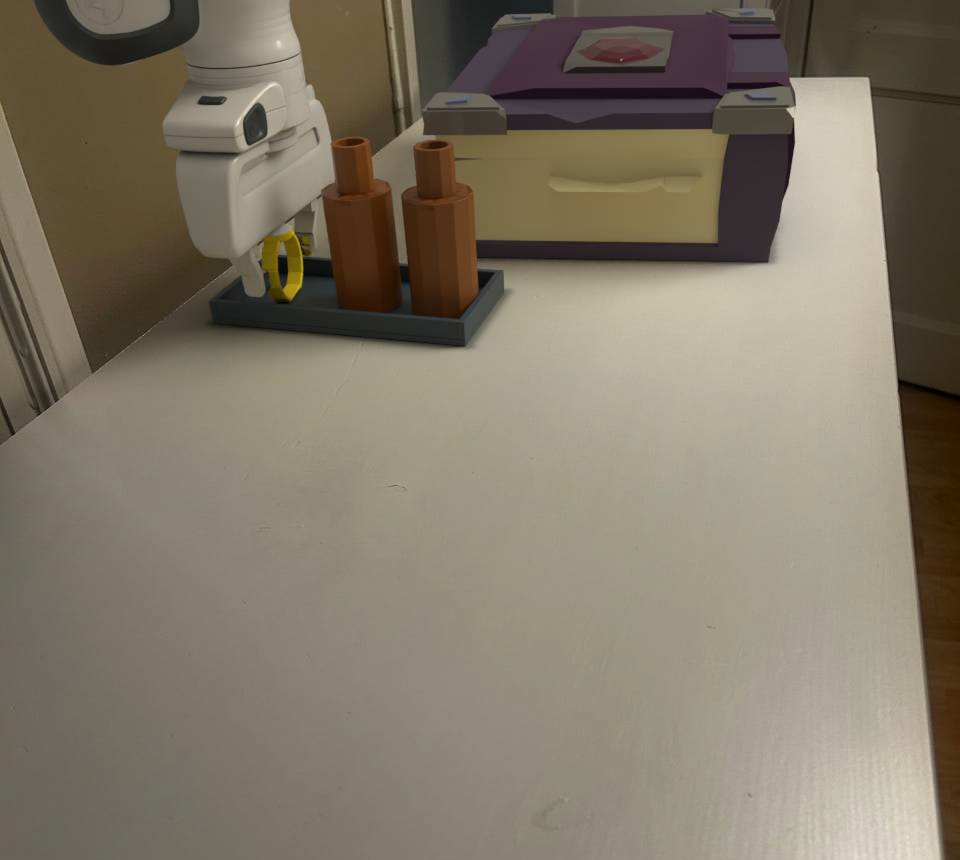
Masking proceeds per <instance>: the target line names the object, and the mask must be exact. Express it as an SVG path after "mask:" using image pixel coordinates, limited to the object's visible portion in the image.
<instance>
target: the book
mask: <svg viewBox="0 0 960 860" xmlns="http://www.w3.org/2000/svg"><path fill="white" fill-rule="evenodd" d="M776 21H777V20H776V16H775V12H774V9H773V8H771V9H770V8H767V7H765V8H764V7H762V8H761V7H759V8H757V7H751V8H750V7H749V8H748V7H747V8H745V7H743V8H741V7H740V8H726V7H725V8H719V7H718V8H716V7H715V8H712V10H706V11H705V14H664V15H663V14H662V15H661V14H660V15H619V16H618V15H613V16H612V15H611V16H610V15H607V16H604V15H603V16H561V17H557V15H556V14H552V13H517V14H516V13H513V14H511V13H510V14H504V16H501V17H500V18H499V19H498V21H497V22H495V24H494V25H493V27H492V28H491V36H490V37H489V38H488V39H487V40H486V41H487V42H486V45H485V46H483V47H480V48H479V50H478V51H477V52H476V54H475V55H474V56H473V57H472V59H471V60H470V61H469V62H468V64H467V65H466V66H465V67H464V69H463V70H462V71H461V72H460V74H458V76H457V77H456V78H455V79H454V81H453V82H452V83H451V85H450V86H449V87H448V88H447V90H446V91H445V92H443V91H440V92H437V93H435V94H434V95H433V97H432V98H431V99H430V100H429V102H428V103H427V104H426V105H425V106H424V107H423V109H422V110H421V117H422V122H423V131H422V136H435V140H439V139H440V140H447V141H451V142H452V143H453V144H454V158H455V174H456V182H457V183H461V184H464V185H468V186H470V188H471V189H472V191H473V196H474V215H475V234H476V254H477V258H497V259H500V258H503V259H505V258H508V259H558V260H559V259H560V260H561V259H562V260H564V259H565V260H567V259H568V260H569V259H571V260H618V261H619V260H623V261H624V260H626V261H627V260H629V261H630V260H631V261H681V262H682V261H684V262H685V261H686V262H687V261H688V262H690V261H691V262H693V261H694V262H745V263H749V262H751V263H769V261H770V256H771V255H770V254H771V249H772V245H773V242H774V240H775V236H776V233H777V230H778V226H779V224H780V220H781V214H782V208H783V201H784V199H785V196H786V193H787V190H788V188H789V185H790V179H791V172H792V167H793V159H794V153H795V146H796V131H795V114H796V107H797V99H796V92H795V89H794V87H793V85H792V82H791V79H790V78H791V73H790V71H789V64H788V63H789V61H788V53H787V51H786V48H785V46H784V44H783V42H782V40H781V36H782V33H781V31H780V28H779V26H776Z"/></svg>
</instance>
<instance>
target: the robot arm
mask: <svg viewBox="0 0 960 860" xmlns="http://www.w3.org/2000/svg"><path fill="white" fill-rule="evenodd" d="M33 3H34V5H35V8H36V10H37V12H38V15H39V16H40V19H41V20H42V22H43V23H44V25H45V27H46V28H47V29H48V31H49V32H50V33H51V34H52V36H53V37H54V38H55V40H57V42H59V43H60V44H61V45H62V46H63V47H64V48H66V49H67V50H68V51H69V52H71V53H72V54H74V55H75V56H76V57H78V58H81V59H83V60H85V61H88V62H90V63H93V64H97V65H102V66H117V67H121V66H122V67H123V66H129V65H132V64H136V63H140V62H141V61H143V60H145V59H148V58H151V57H154V56H157V55H161V54H163V53H166V52H170V51H171V50H174V49H180V50H181V51H182V52H183V56H184V59H185V63H186V68H187V73H188V78H189V79H187V80H186V81H185V82H184V84H183V86H182V88H181V91H180V94H179V95H178V97H177V99H176V100H175V102H174V104H173V105H172V106H171V108H170V109H169V111H168V112H167V113H166V115H165V117H164V118H163V121H162V124H161V125H162V127H161V128H162V134H163V138H164V141H165V144H166V147H167V148H168V149H169V150H171V151H179V153H178V155H177V157H176V160H175V179H176V180H175V181H176V185H177V189H178V194H179V199H180V202H181V207H182V211H183V215H184V219H185V222H186V223H185V224H186V226H187V230H188V233H189V237H190V240H191V242H192V245H193V246H194V247H195V248H196V250H197V251H198V252H199V253H200V254H201V255H202V256H203V257H205V258H214V259H228V260H229V262H230V263H231V264H232V266H233V267H234V269H235V271H237V273H238V274H239V276H241V277H242V281H243V286H244V290H245V293H246V294H247V295H248V296H251V297H262V296H263V295H264V294H266V293H267V292H268V291H269V290H270V288H271V283H270V282H269V273H268V270H262V269H261V267H260V265H259V263H258V261H259V260H258V259H257V257H258V256H260V251H259V245H258V244H259V243H260V242H262V240H263V239H264V238H265V237H267V236H268V235H269V234H270V233H272V232H273V231H274V230H276V229H277V228H278V227H279V226H281V225H282V224H286V222H287V221H289V220H290V219H291V218H293V220H294V221H293V226H294V227H293V232H294V233H295V235H296V237H297V239H298V241H299V243H300V248H301V252H302V256H305V257H310V256H311V255H312V254H313V253H314V252H316V251H317V250H318V239H317V235H316V230H317V224H318V216H319V209H320V208H319V201H318V198H319V196H322V195H321V190H322V189H323V188H325V187H326V186H327V185H329V184H332V183H335V182H336V181H335V174H334V167H333V159H332V152H331V145H330V143H332V142H333V140H332V136H331V131H330V127H329V123H328V119H327V114H326V112H325V109H324V106H323V105H322V102H320V101H319V100H318V99H316V94H315V90H314V87H313V85H312V84H311V83H310V82H309V81H308V79H307V78H306V76H305V68H304V61H303V55H302V54H303V53H302V48H301V47H302V46H301V43H300V41H299V38H298V35H297V33H296V30H295V27H294V25H293V21H292V16H291V0H33Z"/></svg>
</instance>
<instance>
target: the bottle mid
mask: <svg viewBox="0 0 960 860" xmlns="http://www.w3.org/2000/svg"><path fill="white" fill-rule="evenodd" d="M330 145H331V152H332V159H333V167H334V174H335V182H334V183H332V184H329V185H327V186H326V187H325V188H323V189H322V190H321V195H320V196H321V201H322V208H323V213H324V220H325V222H324V223H325V227H326V234H327V240H328V248H329V254H330V258H331V262H332V268H333V275H334V282H335V288H336V295H337V302H338V306H339V309H342V310H354V311H366V312H378V313H387V312H390V311H392V310H395V309H397V308H398V307H399V306H400V305H401V304H402V302H403V295H402V285H401V276H400V266H399V263H400V258H399V250H398V238H397V228H396V219H395V209H394V200H393V192H392V191H393V190H392V186H391V184H390V182H389V181H386V180H382V179H379V178H375V175H374V167H373V166H374V165H373V158H372V157H373V155H372V148H371V141H370V139H369V138H367V137H362V136H346V137H342V138H337V139H335V140H332V143H330Z"/></svg>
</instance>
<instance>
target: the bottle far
mask: <svg viewBox="0 0 960 860" xmlns="http://www.w3.org/2000/svg"><path fill="white" fill-rule="evenodd" d="M412 150H413V160H414V173H415V183H416V185H414V186H410V187H407V188H406V189H405V190H404V191H403V192H402V193H401V194H400V200H401V211H402V219H403V230H404V240H405V250H406V260H407V261H406V262H407V264H408V272H409V282H410V292H411V302H412V310H413V313H414V315H415V316H426V317H438V318H450V319H460V318H461V317H462V315H463V314H464V313H465V311H466V310H467V309H468V307H469V306H470V305H471V304H472V302H473V301H474V300H475V298H476V297H477V296H478V294H479V292H478V273H477V268H478V257H477V254H476V234H475V215H474V196H473V191H472V189H471V188H470V186H468V185H464V184H461V183H457V182H456V174H455V158H454V144H453V143H452V142H451V141H447V140H440V139H439V140H436V139H427V140H423V141H418V142H417V143H415V144H414V145H413V147H412Z"/></svg>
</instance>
